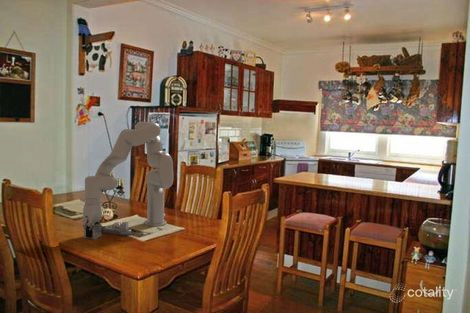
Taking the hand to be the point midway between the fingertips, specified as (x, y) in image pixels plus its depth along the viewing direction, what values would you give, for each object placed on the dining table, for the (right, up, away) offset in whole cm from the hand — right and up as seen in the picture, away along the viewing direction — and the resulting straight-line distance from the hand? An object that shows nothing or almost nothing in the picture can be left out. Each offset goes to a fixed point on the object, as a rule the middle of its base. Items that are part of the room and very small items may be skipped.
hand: (92, 235), depth 192 cm
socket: (0, -1, 0) cm, 1 cm away
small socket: (+8, 0, +14) cm, 16 cm away
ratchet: (+6, 0, +8) cm, 10 cm away
